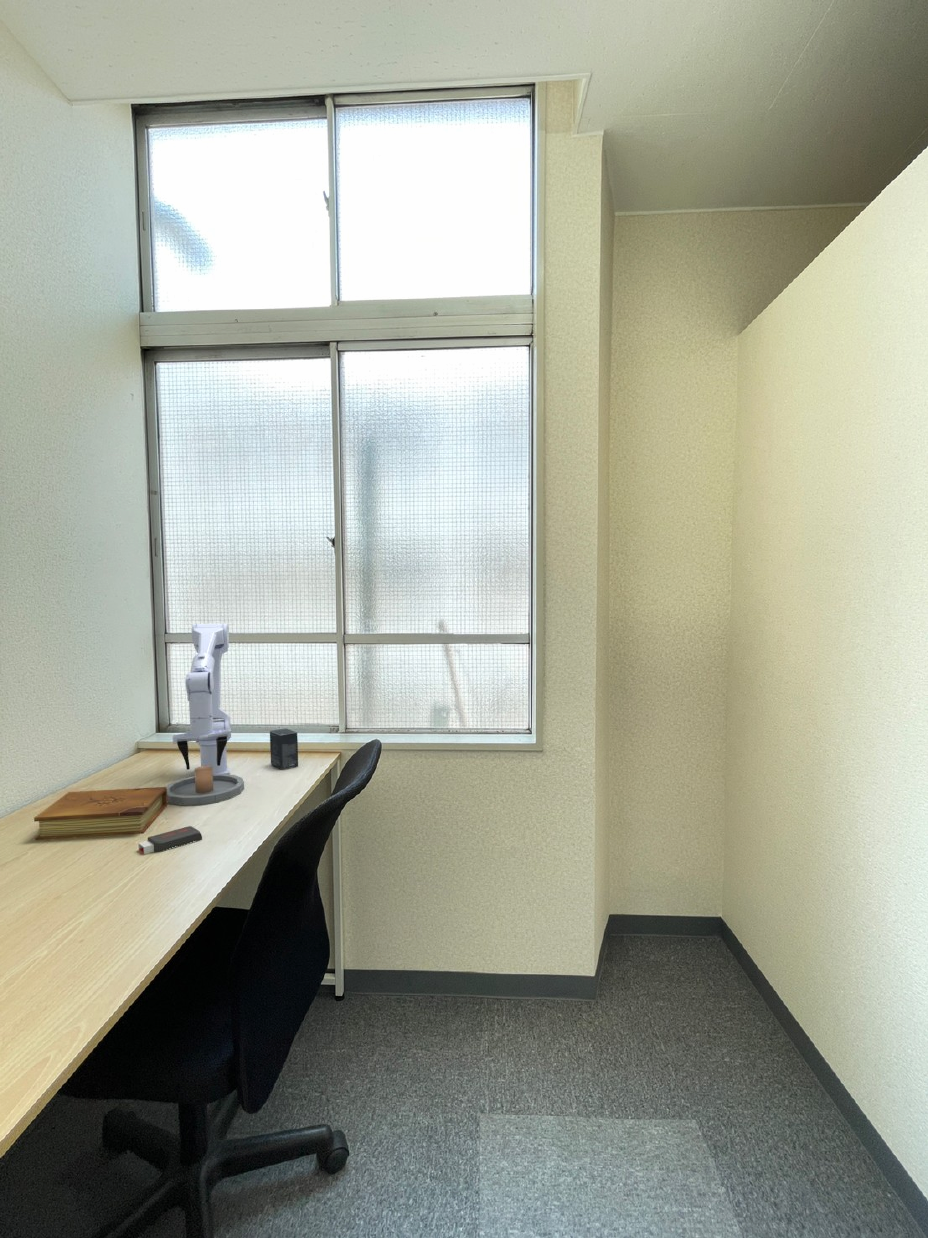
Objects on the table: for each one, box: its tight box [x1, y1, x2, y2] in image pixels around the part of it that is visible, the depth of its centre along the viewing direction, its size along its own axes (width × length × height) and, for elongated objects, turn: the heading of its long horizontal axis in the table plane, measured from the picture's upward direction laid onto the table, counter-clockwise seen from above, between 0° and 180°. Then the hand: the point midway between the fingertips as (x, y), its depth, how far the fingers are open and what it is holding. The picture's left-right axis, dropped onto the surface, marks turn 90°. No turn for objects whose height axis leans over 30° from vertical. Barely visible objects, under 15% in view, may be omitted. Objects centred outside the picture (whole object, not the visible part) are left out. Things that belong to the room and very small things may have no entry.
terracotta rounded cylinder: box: [194, 765, 213, 793], centre depth 185 cm, size 4×4×6 cm
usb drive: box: [138, 825, 203, 855], centre depth 150 cm, size 5×12×3 cm, turn 134°
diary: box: [33, 786, 168, 841], centre depth 164 cm, size 23×19×6 cm
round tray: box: [165, 774, 245, 806], centre depth 185 cm, size 20×20×2 cm
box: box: [269, 728, 299, 770], centre depth 209 cm, size 8×6×11 cm
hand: (203, 766), depth 184 cm, fingers open, 7 cm apart
